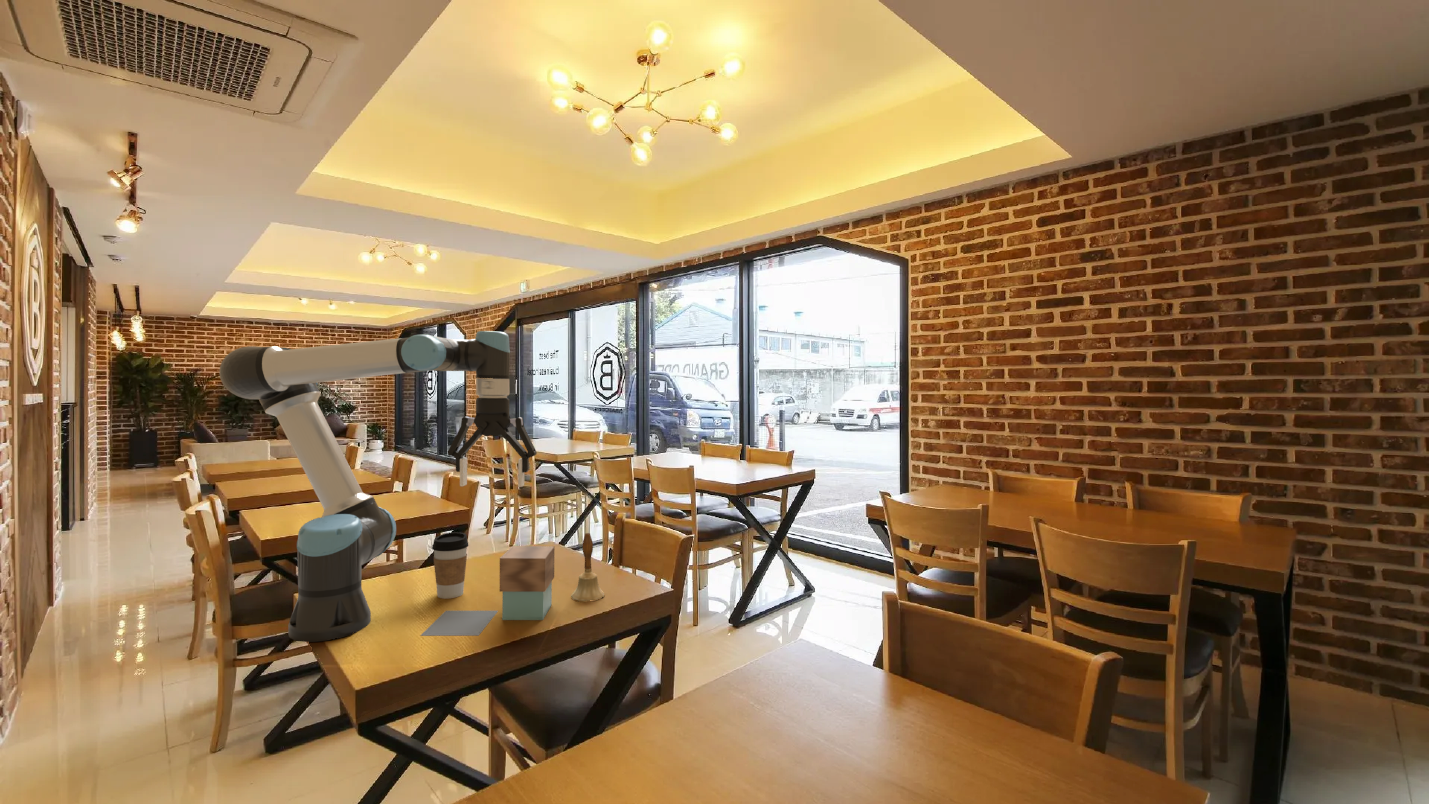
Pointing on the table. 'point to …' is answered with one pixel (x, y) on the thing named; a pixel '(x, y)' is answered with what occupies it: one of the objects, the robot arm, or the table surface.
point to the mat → (460, 623)
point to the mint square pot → (526, 605)
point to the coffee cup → (450, 563)
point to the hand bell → (587, 576)
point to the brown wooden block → (527, 569)
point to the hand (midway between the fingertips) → (492, 485)
